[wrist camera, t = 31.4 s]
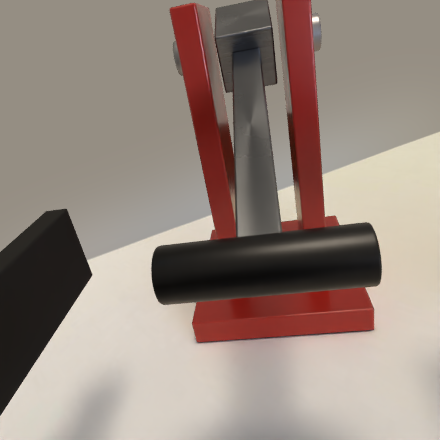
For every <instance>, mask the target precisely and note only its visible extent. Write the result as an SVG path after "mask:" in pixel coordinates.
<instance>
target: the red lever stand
mask: <svg viewBox="0 0 440 440" xmlns="http://www.w3.org/2000/svg"><path fill="white" fill-rule="evenodd" d="M276 9H277V19H278V29H279V39H280V49H281V59H282V69H283V78H284V90H285V100H286V110H287V119H288V130H289V139H290V149H291V160H292V170H293V180H294V190H295V200H296V210H297V220H293V221H285V222H281V225H282V232H286V231H295V230H303V229H312V228H321V227H330V226H339V223H338V221H337V218H336V216H327V217H325V211H324V196H323V180H322V164H321V149H320V134H319V118H318V104H317V103H318V102H317V86H316V71H315V56H314V51H319V50H320V48H321V24H320V18H319V15H318V13H314V14H312V8H311V0H276ZM170 15H171V20H172V25H173V29H174V34H175V39H176V41H175V42H174V43H173V52H174V59H175V63H176V67H177V70H178V72H179V74H180V75H181V76H182V75H183V77H184V82H185V87H186V91H187V97H188V102H189V106H190V111H191V116H192V121H193V126H194V130H195V135H196V140H197V145H198V150H199V155H200V159H201V164H202V169H203V174H204V179H205V183H206V188H207V193H208V197H209V203H210V207H211V212H212V217H213V222H214V227H215V230H212V234H211V238H210V240H215V239H224V238H233V237H236V215H235V171H234V154H233V148H232V142H231V136H230V130H229V124H228V118H227V112H226V106H225V100H224V94H223V88H222V82H221V76H220V71H219V65H218V58H217V52H216V46H215V40H214V35H213V29H212V23H211V17H210V11H209V8H208V7H205V6H202V5H199V4H196V3H190V4H185V5H180V6H176V7H171V8H170ZM192 325H193V329H194V333H195V337H196V340H197V342H209V341H223V340H237V339H251V338H264V337H278V336H292V335H306V334H320V333H334V332H348V331H362V330H373V329H374V308H373V305H372V303H371V301H370V298H369V296H368V293H367V291H366V288H365V287H362V288H351V289H339V290H328V291H317V292H305V293H294V294H283V295H271V296H260V297H249V298H237V299H226V300H215V301H203V302H197V303H196V307H195V312H194V317H193V321H192Z"/></svg>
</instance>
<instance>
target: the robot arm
mask: <svg viewBox="0 0 440 440" xmlns="http://www.w3.org/2000/svg"><path fill="white" fill-rule="evenodd" d="M91 277H92V272H91V270H90V267H89V265H88V262H87V260H86V257H85V255H84V252H83V250H82V247H81V244H80V242H79V239H78V237H77V234H76V231H75V229H74V226H73V224H72V221H71V219H70V216H69V214H68V211H67V209H61V210H53V211H46V212H45V213H44V214H43V215H42V216H40V217H39V219H37V220H36V221H35V222H34V223H33V224H32V225H30V227H28V228H27V229H26V230H25V231H24V232H23V233H21V234H20V235H19V236H18V237H17V238H16V239H15V240H13V241H12V242H11V243H10V244H9V245H8V246H7V247H6V248H4V249H3V250H2V251H1V252H0V415H1V414H2V412H3V411H4V409H5V408H6V406H7V405H8V403H9V402H10V400H11V399H12V397H13V396H14V394H15V392H16V391H17V389H18V388H19V386H20V385H21V383H22V382H23V380H24V379H25V377H26V376H27V374H28V373H29V371H30V370H31V368H32V367H33V365H34V363H35V362H36V360H37V359H38V357H39V356H40V354H41V353H42V351H43V350H44V348H45V347H46V345H47V344H48V342H49V341H50V339H51V338H52V336H53V334H54V333H55V331H56V330H57V328H58V327H59V325H60V324H61V322H62V321H63V319H64V318H65V316H66V315H67V313H68V312H69V310H70V309H71V307H72V306H73V304H74V302H75V301H76V299H77V298H78V296H79V295H80V293H81V292H82V290H83V289H84V287H85V286H86V284H87V283H88V281H89V280H90V278H91Z"/></svg>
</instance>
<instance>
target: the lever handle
mask: <svg viewBox="0 0 440 440" xmlns="http://www.w3.org/2000/svg"><path fill="white" fill-rule="evenodd" d="M215 43H216V48H217V53H218V58H219V63H220V67H221V72H222V77H223V82H224V87H225V91H226V93H227V92H233V125H234V171H235V215H236V237H233V238H224V239H215V240H207V241H198V242H189V243H180V244H171V245H163V246H158V247H157V248H156V249H155V251H154V253H153V258H152V268H151V271H152V283H153V288H154V292H155V295H156V297H157V299H158V301H159V302H160V303H161V304H163V305H170V304H181V303H192V302H203V301H215V300H226V299H237V298H249V297H260V296H271V295H283V294H294V293H305V292H317V291H328V290H339V289H351V288H362V287H373V286H378V285H379V284H380V281H381V274H382V265H381V255H380V249H379V244H378V240H377V236H376V233H375V231H374V229H373V227H372V225H371V224H370V223H367V222H365V223H356V224H347V225H339V226H330V227H321V228H312V229H303V230H295V231H286V232H282V225H281V217H280V209H279V201H278V193H277V185H276V177H275V169H274V160H273V152H272V144H271V136H270V128H269V120H268V111H267V104H266V95H265V86H268V85H274V84H277V73H276V62H275V51H274V40H273V29H272V23H271V17H270V12H269V6H268V1H267V0H253V1H248V2H243V3H239V4H234V5H229V6H224V7H219V8H216V14H215Z"/></svg>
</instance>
